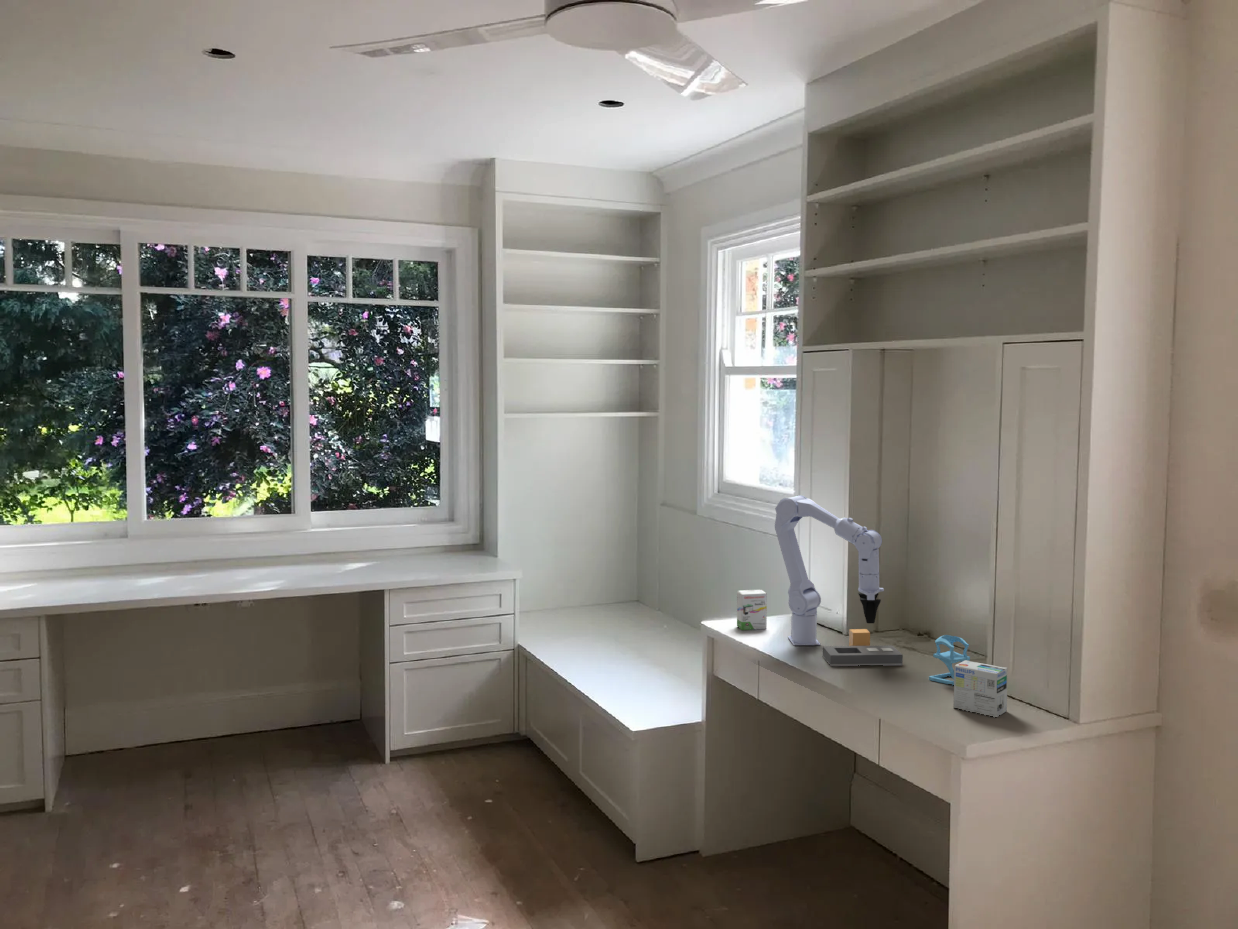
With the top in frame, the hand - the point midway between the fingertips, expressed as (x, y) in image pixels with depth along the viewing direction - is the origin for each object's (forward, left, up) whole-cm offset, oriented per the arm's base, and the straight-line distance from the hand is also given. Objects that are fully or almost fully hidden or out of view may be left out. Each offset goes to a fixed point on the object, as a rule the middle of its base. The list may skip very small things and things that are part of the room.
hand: (869, 620), depth 284 cm
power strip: (+7, -4, -10) cm, 13 cm away
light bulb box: (+49, +13, -10) cm, 52 cm away
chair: (+27, +14, -10) cm, 32 cm away
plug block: (-3, -2, -10) cm, 11 cm away
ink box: (-31, -29, -10) cm, 44 cm away
